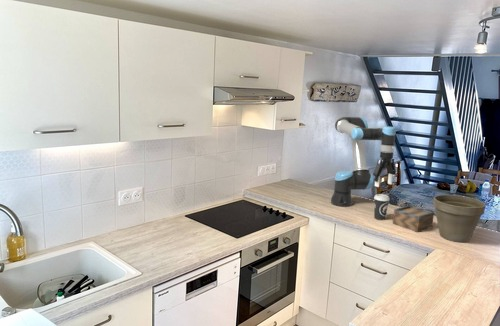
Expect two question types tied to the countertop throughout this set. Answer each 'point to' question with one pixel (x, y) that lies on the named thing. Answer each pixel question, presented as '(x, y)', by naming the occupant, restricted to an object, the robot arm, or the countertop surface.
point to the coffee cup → (381, 206)
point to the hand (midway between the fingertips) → (383, 185)
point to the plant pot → (457, 216)
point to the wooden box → (413, 218)
